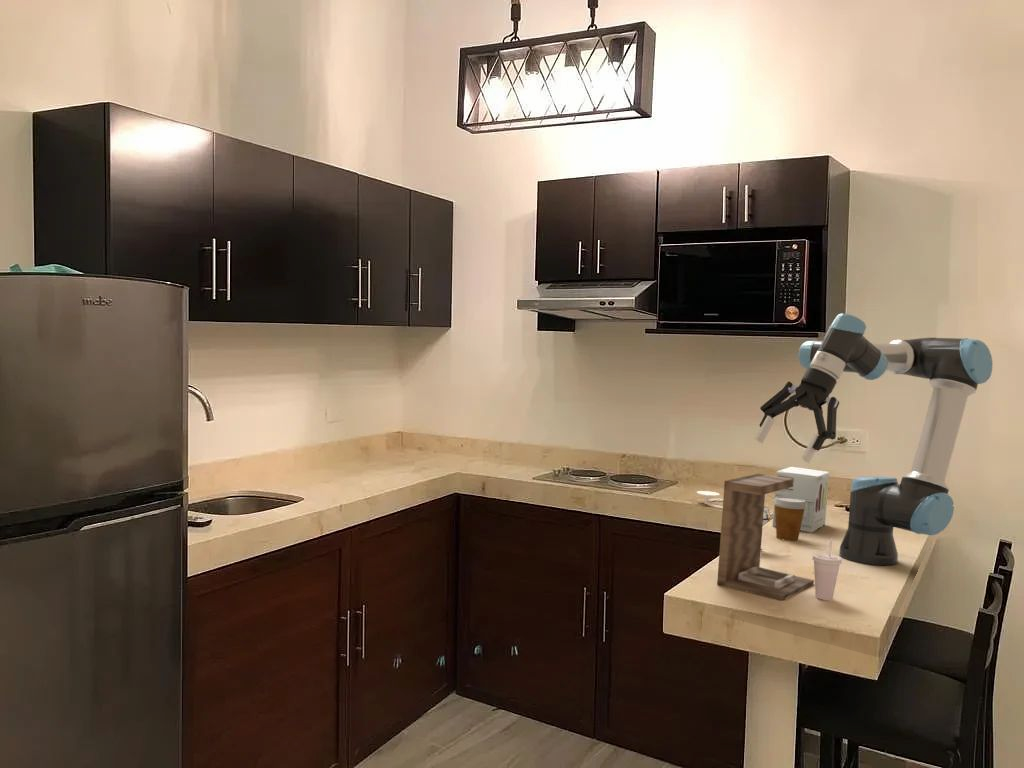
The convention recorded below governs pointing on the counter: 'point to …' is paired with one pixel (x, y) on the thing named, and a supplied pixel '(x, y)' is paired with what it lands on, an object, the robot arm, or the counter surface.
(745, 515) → the overhang shelf
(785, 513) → the disposable coffee cup
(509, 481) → the counter surface
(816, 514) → the supplement box
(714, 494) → the hand towel holder
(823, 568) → the smoothie
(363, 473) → the counter surface
